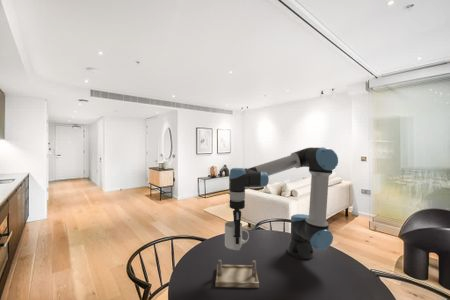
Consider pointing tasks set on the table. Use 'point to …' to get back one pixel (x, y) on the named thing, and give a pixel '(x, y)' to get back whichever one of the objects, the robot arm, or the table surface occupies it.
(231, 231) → the mug
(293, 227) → the robot arm
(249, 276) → the tray
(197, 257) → the table surface
